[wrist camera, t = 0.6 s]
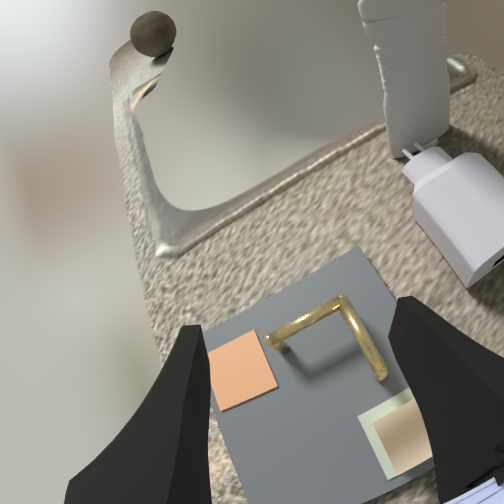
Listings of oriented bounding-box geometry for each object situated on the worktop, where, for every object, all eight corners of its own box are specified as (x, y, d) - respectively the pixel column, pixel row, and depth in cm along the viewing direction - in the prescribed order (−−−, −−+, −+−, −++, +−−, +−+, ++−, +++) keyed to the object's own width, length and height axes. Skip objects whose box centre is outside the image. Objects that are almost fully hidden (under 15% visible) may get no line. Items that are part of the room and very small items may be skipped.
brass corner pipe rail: (389, 377, 22) (390, 371, 19) (309, 419, 23) (296, 420, 20) (349, 305, 26) (343, 289, 23) (276, 346, 27) (260, 335, 24)
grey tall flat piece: (399, 169, 32) (362, -34, 14) (377, 149, 34) (329, -37, 16) (461, 131, 30) (451, -47, 13) (438, 114, 33) (417, -53, 15)
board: (469, 440, 17) (473, 441, 16) (268, 531, 19) (262, 535, 18) (359, 251, 29) (358, 244, 28) (197, 342, 31) (189, 338, 30)
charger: (438, 146, 31) (527, 241, 22) (377, 180, 32) (464, 292, 23) (439, 114, 27) (542, 213, 18) (373, 149, 28) (476, 269, 20)
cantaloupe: (140, 71, 80) (113, 36, 69) (154, 51, 87) (130, 19, 75) (180, 52, 75) (154, 12, 63) (191, 34, 82) (168, -2, 70)
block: (442, 436, 18) (455, 441, 14) (395, 463, 18) (397, 475, 14) (420, 394, 20) (429, 389, 16) (374, 421, 20) (372, 423, 16)
